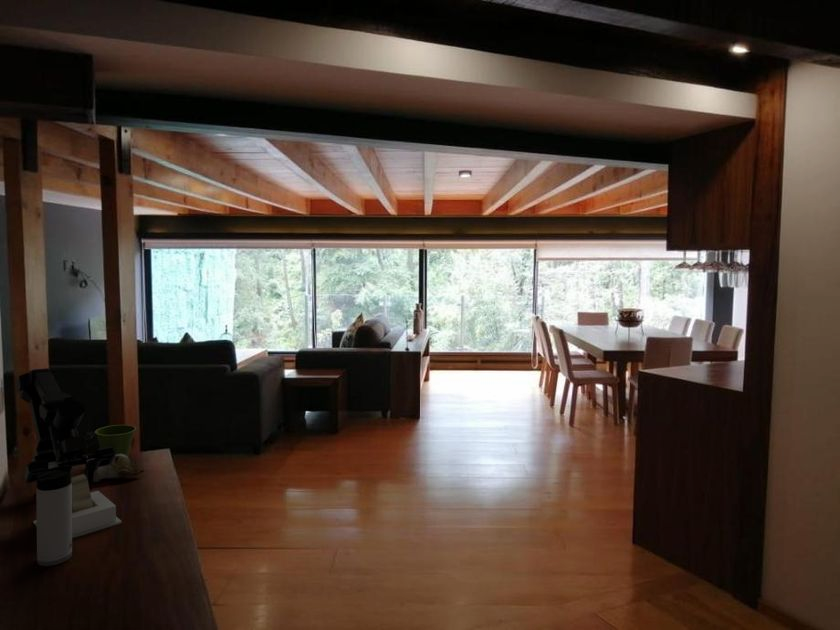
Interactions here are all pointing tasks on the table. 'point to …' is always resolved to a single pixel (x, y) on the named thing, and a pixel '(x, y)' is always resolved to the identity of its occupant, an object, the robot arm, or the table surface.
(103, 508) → the socket block
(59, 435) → the robot arm
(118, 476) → the ceramic sculpture
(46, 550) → the travel mug
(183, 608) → the table surface
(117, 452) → the plant pot
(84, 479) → the birch peg
